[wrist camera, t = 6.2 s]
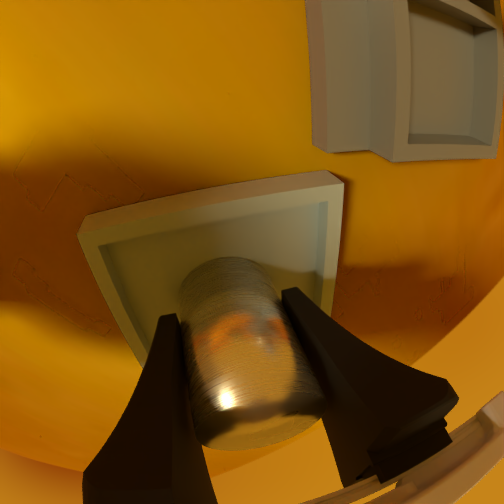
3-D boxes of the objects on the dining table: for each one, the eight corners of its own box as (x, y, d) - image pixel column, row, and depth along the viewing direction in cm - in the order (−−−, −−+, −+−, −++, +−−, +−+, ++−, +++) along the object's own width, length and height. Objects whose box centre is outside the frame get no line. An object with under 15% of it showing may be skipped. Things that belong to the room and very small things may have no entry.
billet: (189, 336, 14) (210, 457, 9) (167, 268, 11) (178, 413, 6) (273, 317, 14) (320, 430, 9) (270, 247, 12) (336, 374, 7)
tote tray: (153, 366, 15) (154, 387, 14) (85, 215, 10) (76, 234, 9) (315, 330, 16) (325, 348, 15) (326, 170, 11) (344, 183, 10)
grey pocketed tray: (312, 144, 10) (347, 166, 8) (284, -129, 3) (310, -158, 1) (475, 141, 12) (511, 158, 10) (463, -63, 5) (499, -66, 3)
